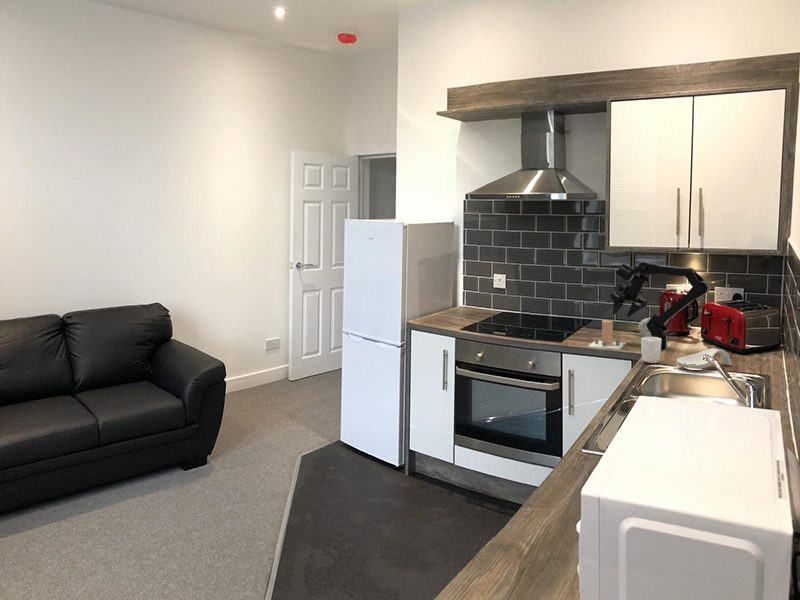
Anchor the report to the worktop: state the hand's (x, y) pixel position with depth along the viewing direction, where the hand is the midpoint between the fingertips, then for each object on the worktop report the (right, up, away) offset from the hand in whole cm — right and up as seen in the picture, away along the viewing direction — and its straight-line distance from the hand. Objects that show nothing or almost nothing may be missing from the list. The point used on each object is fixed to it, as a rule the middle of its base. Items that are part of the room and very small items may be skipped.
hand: (620, 315), depth 293 cm
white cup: (0, -19, -34) cm, 39 cm away
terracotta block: (-7, -14, -2) cm, 15 cm away
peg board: (-7, -14, -2) cm, 16 cm away
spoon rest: (+17, -20, -45) cm, 52 cm away
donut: (+19, -12, +14) cm, 26 cm away
